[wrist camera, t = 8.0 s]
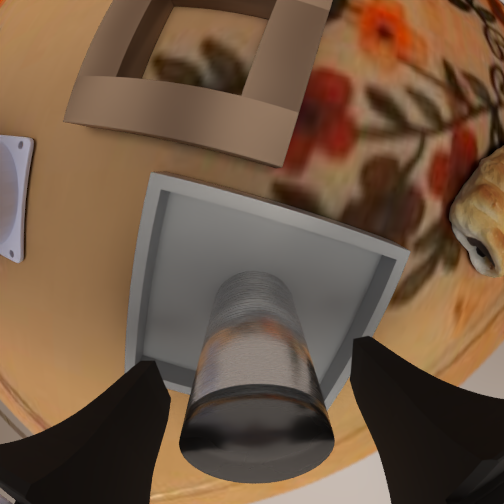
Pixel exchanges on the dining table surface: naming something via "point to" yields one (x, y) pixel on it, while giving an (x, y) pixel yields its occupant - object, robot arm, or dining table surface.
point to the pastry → (482, 215)
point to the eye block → (197, 98)
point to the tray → (250, 259)
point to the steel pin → (255, 389)
